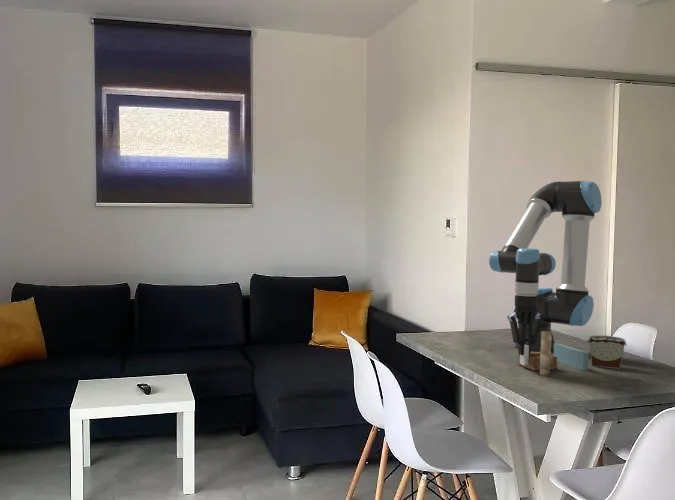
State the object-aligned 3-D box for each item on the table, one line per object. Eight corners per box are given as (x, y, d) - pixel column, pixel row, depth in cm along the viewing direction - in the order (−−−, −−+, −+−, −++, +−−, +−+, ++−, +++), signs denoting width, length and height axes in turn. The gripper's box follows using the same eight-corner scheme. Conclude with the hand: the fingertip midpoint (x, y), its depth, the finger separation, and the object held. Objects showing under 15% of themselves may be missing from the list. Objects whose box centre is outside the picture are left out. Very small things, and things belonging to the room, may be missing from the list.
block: (540, 363, 238) (541, 351, 237) (556, 368, 229) (557, 357, 229) (518, 364, 235) (518, 352, 234) (533, 370, 226) (534, 358, 226)
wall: (558, 360, 244) (558, 343, 244) (588, 370, 229) (588, 352, 229) (553, 360, 243) (553, 343, 243) (583, 370, 228) (583, 352, 228)
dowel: (545, 373, 223) (547, 330, 222) (552, 375, 220) (553, 332, 219) (537, 373, 222) (539, 331, 221) (543, 376, 219) (545, 332, 218)
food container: (624, 365, 238) (625, 336, 237) (625, 369, 232) (626, 339, 231) (586, 362, 242) (587, 334, 241) (586, 365, 236) (587, 337, 235)
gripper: (536, 292, 234) (534, 360, 236) (503, 293, 230) (501, 362, 232) (549, 295, 227) (547, 365, 229) (515, 296, 223) (513, 367, 225)
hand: (524, 364), depth 230 cm, fingers closed
